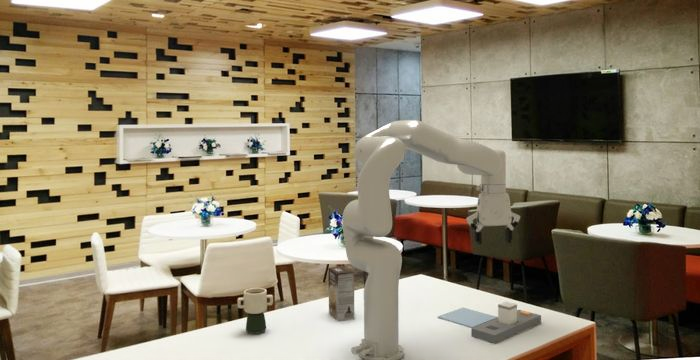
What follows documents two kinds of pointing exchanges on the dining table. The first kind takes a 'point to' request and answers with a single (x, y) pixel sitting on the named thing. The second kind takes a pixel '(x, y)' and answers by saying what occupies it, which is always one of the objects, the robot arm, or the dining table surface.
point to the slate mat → (467, 317)
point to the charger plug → (507, 313)
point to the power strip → (505, 327)
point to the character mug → (255, 308)
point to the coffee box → (341, 293)
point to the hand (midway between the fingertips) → (493, 242)
